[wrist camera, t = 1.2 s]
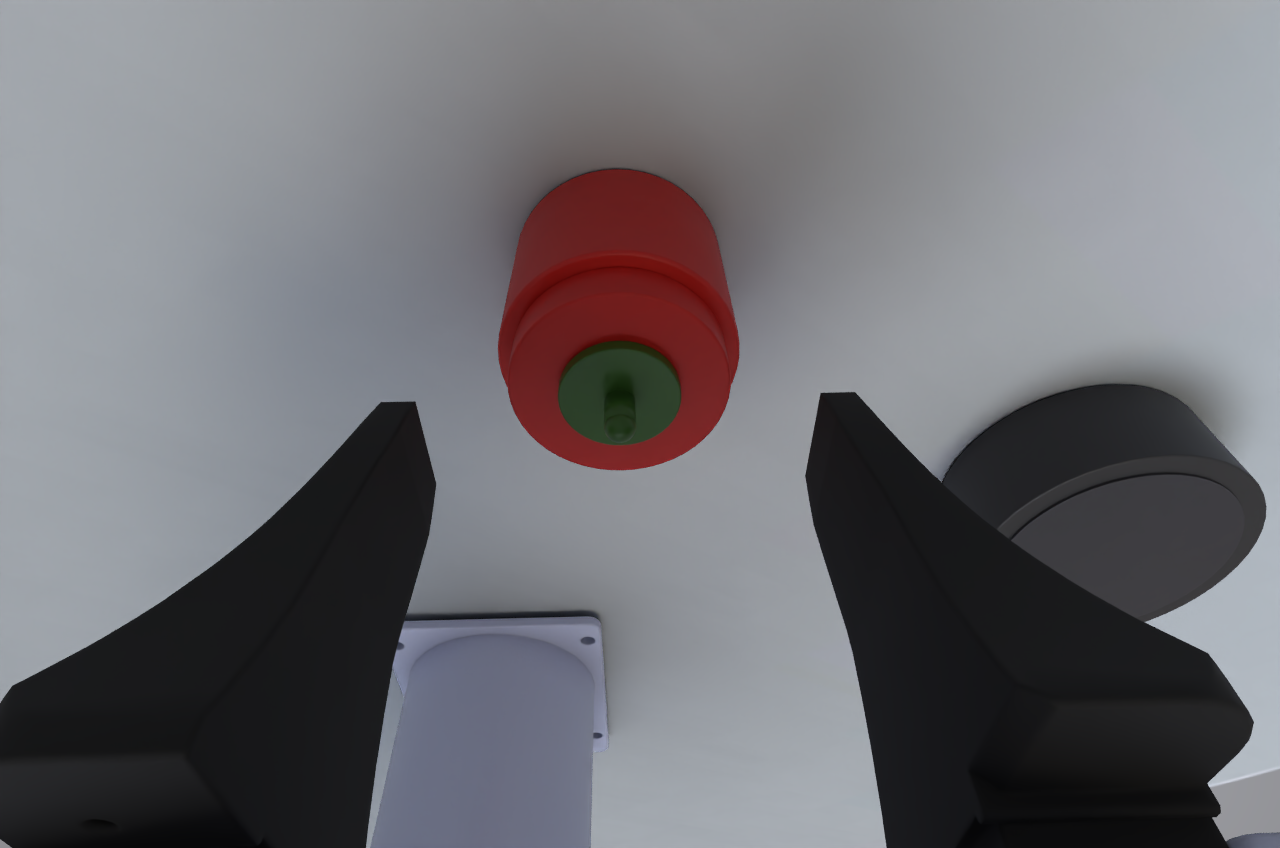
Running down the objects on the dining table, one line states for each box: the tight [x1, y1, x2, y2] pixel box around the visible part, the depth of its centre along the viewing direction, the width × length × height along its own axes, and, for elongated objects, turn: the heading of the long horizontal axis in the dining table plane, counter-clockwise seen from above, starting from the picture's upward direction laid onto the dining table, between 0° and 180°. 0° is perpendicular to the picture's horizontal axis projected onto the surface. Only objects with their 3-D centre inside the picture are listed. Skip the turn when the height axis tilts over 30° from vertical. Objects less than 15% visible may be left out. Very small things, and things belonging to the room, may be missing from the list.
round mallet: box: [943, 385, 1266, 622], centre depth 29 cm, size 26×8×3 cm, turn 0°
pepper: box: [498, 169, 739, 470], centre depth 16 cm, size 5×5×6 cm
